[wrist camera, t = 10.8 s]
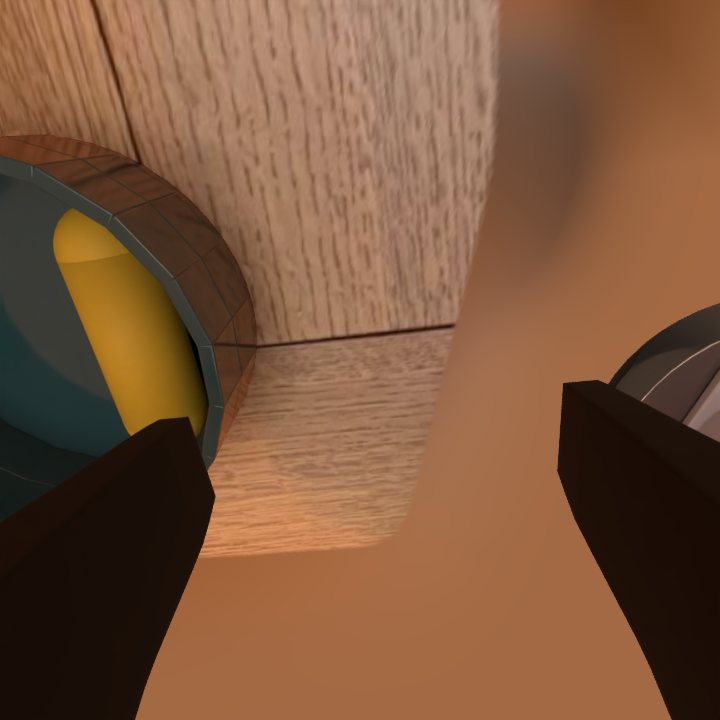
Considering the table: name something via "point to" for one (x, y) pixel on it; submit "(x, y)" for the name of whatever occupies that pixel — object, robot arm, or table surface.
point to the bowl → (62, 322)
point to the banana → (130, 327)
